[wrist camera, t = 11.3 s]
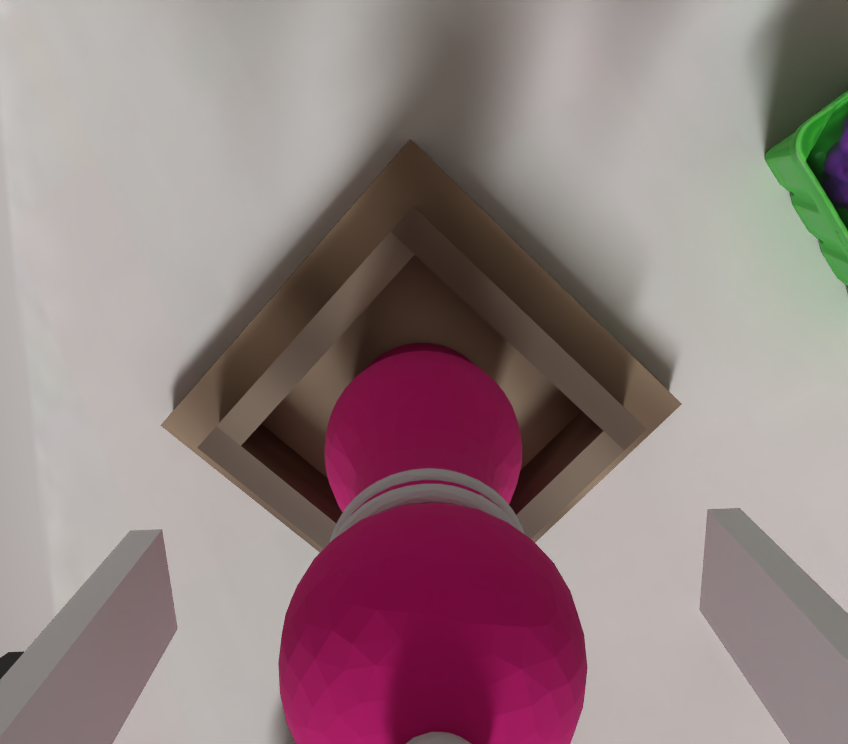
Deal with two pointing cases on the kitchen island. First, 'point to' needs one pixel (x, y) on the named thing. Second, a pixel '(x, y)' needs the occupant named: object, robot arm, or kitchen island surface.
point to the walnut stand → (418, 323)
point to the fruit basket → (819, 179)
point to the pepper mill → (429, 575)
